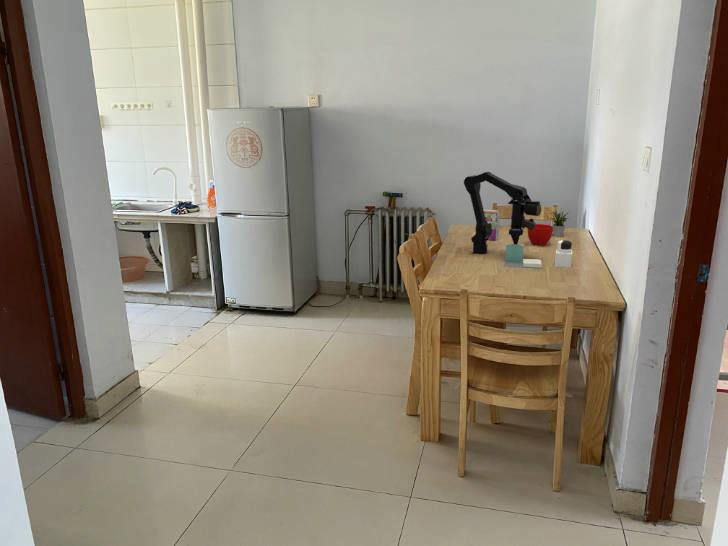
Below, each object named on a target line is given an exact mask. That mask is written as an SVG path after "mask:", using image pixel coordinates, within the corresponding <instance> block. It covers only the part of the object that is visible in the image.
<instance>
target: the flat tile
mask: <svg viewBox="0 0 728 546" xmlns="http://www.w3.org/2000/svg"><path fill="white" fill-rule="evenodd" d="M542 266H543V265H542V260H541V259H536V258H535V259H531V258H523V267H524V268H523V269H531V268H540V269H542Z"/></svg>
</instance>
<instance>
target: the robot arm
mask: <svg viewBox="0 0 728 546" xmlns="http://www.w3.org/2000/svg"><path fill="white" fill-rule="evenodd" d="M484 182H488V183H489V184H491V185H493V186H495V187H497V188H498V189H500V190H502V191H504V192H505V193H506V194H507V196H508V197H510V198H511V199H510V201H509V202H507V204H508V205H512V206H511V216H510V218H511V219H510V220H511V221H510V228H509V229H508V235H509V236H510V237H511V240H512V242H513V243H512V244H518V243H519V240H520V237H521V236H523V234H524V229H525V228H526V229H527V230H528V229H530V230H532V231H533V230H534V227H535V225H536V224H537V222H535V219H534V218H529V219H527V218H525V217H526V216H533V217H540V216H541V214H542V204H541V201H540V200H537V201H534V200H532V199H531V197H530V195H529V194H528V190H527V188H525V187H524V186H522V185H518V184H513V183H510V182H508V181H507V180H504V179H503V178H501V177H499V176H497V175H495V174H494V173H492V172H491V171H485V172H482V173H480V174H477V175H476V174H475V175H469V176H466V177H465V178H464V180H463V185H464V187H465V190H466V191H467V193H468V194H469V196H470V200H471V205H472V209H473V213H474V217H475V222H476V224H475V234H474V235H473V236H472V237H471V238H470V240H471V243H473V244H472V253H471V254H472V255H475V254H478V255H486V254H488V245H489V244H488V242H487V241H489V240H488V239H489V237H491V235H492V231H493V229H492V227H491V223H489V224H488V222H487V221H486V218H485V214H484V210H483V209H484V206H483V200H482V198H481V197H482V196H481V192H480V191H481V185H482V184H481V183H484ZM525 215H526V216H525Z"/></svg>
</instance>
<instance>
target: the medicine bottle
mask: <svg viewBox="0 0 728 546" xmlns="http://www.w3.org/2000/svg"><path fill="white" fill-rule="evenodd" d="M572 245H573V244H572V241H569V240H566V239H564V240H563V239H561V240H558V241H557V247H556V248H557V249H555V255H554V256H555V257H554V267H555V268H558V267H559V268H566V269H567V268H568V269H569V268H570V269H571V268H572V260H573V250H572Z"/></svg>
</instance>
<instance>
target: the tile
mask: <svg viewBox="0 0 728 546" xmlns="http://www.w3.org/2000/svg"><path fill="white" fill-rule="evenodd" d="M524 247H525V244H514V243H506V244H505V259H504V262H505V261H512V262H523V259H524V249H525V248H524Z"/></svg>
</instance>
